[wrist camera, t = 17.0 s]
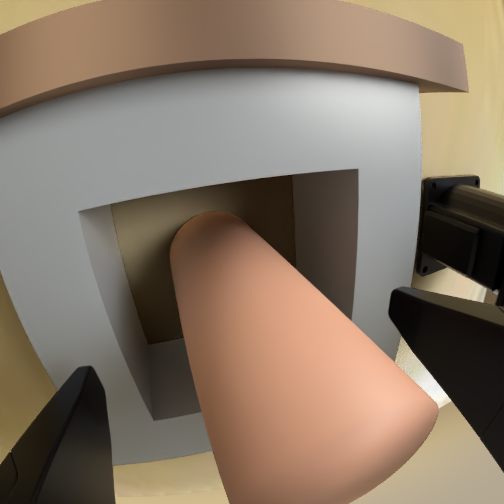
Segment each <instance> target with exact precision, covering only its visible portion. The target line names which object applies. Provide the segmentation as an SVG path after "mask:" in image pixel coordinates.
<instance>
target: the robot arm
mask: <svg viewBox="0 0 504 504" xmlns="http://www.w3.org/2000/svg"><path fill="white" fill-rule="evenodd" d="M431 185H432V186H431ZM447 267H448V268H450V269H452V270H454V271H456V272H457V273H459V274H461V275H463V276H465V277H467V278H469V279H471V280H473V281H475V282H476V283H478V284H480V285H482V286H483V287H485V288H487V289H488V290H490V291H492V292H494V293H495V294H497V298H496V301H495V304H494V305H491V304H486V303H481V302H477V301H472V300H467V299H462V298H457V297H453V296H448V295H443V294H438V293H434V292H429V291H424V290H419V289H414V288H410V287H405V286H401V287H398V288H396V289H393V290H392V292H391V295H390V302H389V308H388V315H389V318H390V320H391V321H392V322H393V324H394V325H395V327H396V328H397V330H398V331H399V333H400V334H401V336H402V337H403V338H404V340H405V341H406V343H407V344H408V346H409V347H410V349H411V350H412V352H413V353H414V354H415V355H416V357H417V358H418V359H419V360H420V362H421V363H422V364H423V365H424V366H425V368H426V369H427V370H428V371H429V373H430V374H431V375H432V376H433V378H434V379H435V380H436V381H437V383H438V384H439V385H440V386H441V388H442V389H443V390H444V391H445V393H446V394H447V395H448V397H449V398H450V399H451V400H452V402H453V403H454V404H455V406H456V407H457V408H458V409H459V411H460V412H461V413H462V415H463V416H464V417H465V419H466V420H467V421H468V423H469V424H470V425H471V427H472V428H473V430H474V431H475V432H476V434H477V435H478V436H479V437H480V440H481V441H482V442H483V444H484V445H485V446H486V448H487V449H488V451H489V452H490V454H491V455H492V456H493V458H494V459H495V461H496V462H497V464H498V465H499V467H500V468H501V470H502V471H503V472H504V196H503V195H500V194H497V193H494V192H490V191H487V190H484V189H480V179H479V177H478V176H476V175H459V176H441V177H429V178H427V179H426V181H425V183H424V198H423V213H422V225H421V235H420V244H419V252H418V260H417V267H416V272H417V274H419V275H421V276H426V275H429V274H431V273H434V272H436V271H439V270H442V269H444V268H447ZM11 452H12V453H11ZM11 452H9V453H8V455H7V456H6V458H5V459H4V460H3V462H2V463H1V464H0V504H116V503H115V492H114V480H113V465H112V445H111V435H110V428H109V420H108V411H107V402H106V393H105V389H104V387H103V385H102V383H101V381H100V379H99V377H98V375H97V373H96V371H95V369H94V368H93V367H92V366H91V365H87V366H80V367H78V368H77V369H76V370H75V371H74V372H73V373H72V374H71V376H70V377H69V378H68V379H67V380H66V381H65V383H64V384H63V385H62V386H61V387H60V389H59V390H58V391H57V392H56V394H55V395H54V396H53V397H52V398H51V400H50V401H49V402H48V403H47V405H46V406H45V407H44V408H43V410H42V411H41V412H40V413H39V415H38V416H37V417H36V418H35V420H34V421H33V422H32V423H31V425H30V426H29V427H28V429H27V430H26V431H25V432H24V434H23V435H22V436H21V438H20V439H19V440H18V442H17V443H16V444H15V446H14V447H13V448H12V450H11Z"/></svg>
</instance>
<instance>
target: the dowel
mask: <svg viewBox="0 0 504 504" xmlns="http://www.w3.org/2000/svg"><path fill="white" fill-rule="evenodd" d="M170 265H171V271H172V277H173V283H174V288H175V294H176V299H177V305H178V310H179V315H180V320H181V325H182V330H183V335H184V340H185V345H186V349H187V354H188V358H189V363H190V367H191V371H192V376H193V380H194V384H195V388H196V392H197V396H198V400H199V404H200V408H201V411H202V415H203V419H204V423H205V426H206V430H207V433H208V437H209V440H210V444H211V447H212V451H213V454H214V457H215V460H216V464H217V467H218V470H219V473H220V476H221V479H222V483H223V486H224V489H225V491H226V494H227V497H228V500H229V503H230V504H349V503H350V502H352V501H354V500H356V499H357V498H359V497H361V496H363V495H364V494H366V493H367V492H369V491H371V490H372V489H374V488H375V487H377V486H378V485H379V484H381V483H382V482H384V481H385V480H386V479H387V478H389V477H390V476H391V475H392V474H393V473H395V472H396V471H397V470H398V469H399V468H400V467H402V466H403V465H404V464H405V463H406V462H407V461H408V460H409V459H410V458H411V457H412V456H413V455H414V454H415V452H416V451H417V450H418V449H419V448H420V446H421V445H422V444H423V443H424V441H425V440H426V439H427V437H428V435H429V434H430V432H431V431H432V429H433V427H434V425H435V423H436V420H437V417H438V405H437V403H436V402H435V401H434V400H433V399H432V398H431V397H430V396H429V395H428V394H427V393H426V392H425V391H424V390H423V389H422V388H421V387H420V386H419V385H417V384H416V383H415V382H414V381H413V380H412V379H411V378H410V377H409V376H408V375H407V374H406V373H405V372H404V371H403V370H402V369H401V368H400V367H399V366H398V365H397V364H396V363H395V362H394V361H393V360H392V359H391V358H390V357H389V356H387V355H386V354H385V353H384V352H383V351H382V350H381V349H380V348H379V347H378V346H377V345H376V344H375V343H374V342H373V341H372V340H371V339H370V338H369V337H368V336H367V335H365V334H364V333H363V332H362V331H361V330H360V329H359V328H358V327H357V326H356V325H355V324H354V323H353V322H352V321H351V320H350V319H349V318H348V317H346V316H345V315H344V314H343V313H342V312H341V311H340V310H339V309H338V308H337V307H336V306H335V305H334V304H333V303H332V302H331V301H329V300H328V299H327V298H326V297H325V296H324V295H323V294H322V293H321V292H320V291H319V290H318V289H317V288H316V287H315V286H313V285H312V284H311V283H310V282H309V281H308V280H307V279H306V278H305V277H304V276H303V275H302V274H301V273H299V272H298V271H297V270H296V269H295V268H294V267H293V266H292V265H291V264H290V263H289V262H288V261H286V260H285V259H284V258H283V257H282V256H281V255H280V254H279V253H278V252H277V251H276V250H275V249H273V248H272V247H271V246H270V245H269V244H268V243H267V242H266V241H265V240H264V239H263V238H261V237H260V236H259V235H258V234H257V233H256V232H255V231H254V230H253V229H252V228H250V227H249V226H248V225H247V224H246V223H245V222H244V221H243V220H241V219H240V218H238V217H237V216H235V215H232V214H229V213H226V212H216V211H214V212H207V213H203V214H200V215H197V216H195V217H193V218H192V219H190V220H189V221H187V222H186V223H185V224H184V225H183V226H182V227H181V228H180V229H179V230H178V232H177V233H176V235H175V237H174V239H173V241H172V244H171V248H170Z"/></svg>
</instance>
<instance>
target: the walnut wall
mask: <svg viewBox="0 0 504 504" xmlns="http://www.w3.org/2000/svg"><path fill="white" fill-rule="evenodd" d="M261 67H266V68H302V69H318V70H330V71H340V72H349V73H357V74H364V75H371V76H377V77H384V78H389V79H395V80H400V81H405V82H410V83H414V84H418V85H419V93H429V92H469V88H468V79H467V70H466V63H465V56H464V49H463V44H461V43H459V42H457V41H455V40H453V39H451V38H448V37H446V36H444V35H442V34H440V33H437V32H435V31H433V30H430V29H428V28H425V27H423V26H420V25H418V24H415V23H413V22H410V21H407V20H404V19H402V18H399V17H396V16H393V15H390V14H387V13H383V12H380V11H377V10H374V9H370V8H367V7H363V6H359V5H355V4H351V3H347V2H343V1H338V0H101V1H97V2H93V3H89V4H85V5H81V6H78V7H74V8H71V9H67V10H64V11H61V12H58V13H54V14H51V15H49V16H46V17H43V18H40V19H37V20H35V21H32V22H29V23H27V24H24V25H22V26H20V27H17V28H15V29H13V30H10V31H8V32H6V33H4V34H1V35H0V118H2V117H4V116H6V115H9V114H11V113H14V112H17V111H19V110H22V109H25V108H27V107H30V106H33V105H36V104H39V103H42V102H45V101H48V100H51V99H54V98H57V97H61V96H64V95H67V94H71V93H74V92H78V91H82V90H86V89H90V88H94V87H98V86H102V85H107V84H111V83H116V82H121V81H126V80H131V79H137V78H142V77H149V76H155V75H162V74H169V73H178V72H187V71H197V70H209V69H225V68H261Z"/></svg>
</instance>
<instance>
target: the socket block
mask: <svg viewBox="0 0 504 504" xmlns="http://www.w3.org/2000/svg"><path fill="white" fill-rule="evenodd" d="M421 172H422V136H421V111H420V96H419V85H418V84H414V83H410V82H405V81H400V80H395V79H389V78H384V77H377V76H371V75H364V74H357V73H349V72H340V71H330V70H318V69H302V68H266V67H261V68H225V69H209V70H197V71H187V72H178V73H169V74H162V75H155V76H149V77H142V78H137V79H131V80H126V81H121V82H116V83H111V84H107V85H102V86H98V87H94V88H90V89H86V90H82V91H78V92H74V93H71V94H67V95H64V96H61V97H57V98H54V99H51V100H48V101H45V102H42V103H39V104H36V105H33V106H30V107H27V108H25V109H22V110H19V111H17V112H14V113H11V114H9V115H6V116H4V117H2V118H0V271H1V274H2V277H3V280H4V283H5V285H6V288H7V290H8V293H9V296H10V298H11V300H12V303H13V305H14V308H15V310H16V312H17V315H18V317H19V319H20V321H21V323H22V326H23V328H24V330H25V332H26V334H27V336H28V338H29V340H30V342H31V344H32V346H33V348H34V350H35V352H36V354H37V356H38V358H39V359H40V361H41V363H42V365H43V367H44V368H45V370H46V372H47V374H48V375H49V377H50V379H51V380H52V382H53V384H54V385H55V387H56V389H57V390H59V389H60V387H61V386H62V385H63V384H64V383H65V381H66V380H67V379H68V378H69V377H70V376H71V374H72V373H73V372H74V371H75V370H76V369H77V368H78V367H80V366H87V365H91V366H92V367H93V368H94V369H95V371H96V373H97V375H98V377H99V379H100V381H101V383H102V385H103V387H104V389H105V393H106V402H107V411H108V420H109V428H110V435H111V445H112V465H113V466H114V465H126V464H136V463H144V462H152V461H159V460H166V459H172V458H178V457H183V456H189V455H194V454H199V453H204V452H208V451H212V447H211V444H210V440H209V437H208V433H207V430H206V426H205V423H204V419H203V415H202V411H201V408H200V404H199V400H198V396H197V392H196V388H195V384H194V380H193V376H192V371H191V367H190V363H189V358H188V354H187V349H186V345H185V340H184V338H180V339H175V340H171V341H166V342H161V343H156V344H150V345H148V344H147V341H146V338H145V335H144V332H143V329H142V326H141V323H140V319H139V316H138V313H137V310H136V307H135V303H134V300H133V296H132V293H131V289H130V286H129V282H128V279H127V275H126V271H125V267H124V264H123V260H122V256H121V252H120V247H119V243H118V239H117V235H116V230H115V225H114V221H113V216H112V211H111V206H110V204H112V203H117V202H122V201H126V200H131V199H136V198H141V197H146V196H151V195H157V194H162V193H167V192H173V191H179V190H184V189H190V188H196V187H203V186H209V185H215V184H222V183H229V182H236V181H243V180H250V179H258V178H266V177H274V176H282V175H291V174H292V180H293V199H294V220H295V246H296V270H297V271H298V272H299V273H301V274H302V275H303V276H304V277H305V278H306V279H307V280H308V281H309V282H310V283H311V284H312V285H313V286H315V287H316V288H317V289H318V290H319V291H320V292H321V293H322V294H323V295H324V296H325V297H326V298H327V299H328V300H329V301H331V302H332V303H333V304H334V305H335V306H336V307H337V308H338V309H339V310H340V311H341V312H342V313H343V314H344V315H345V316H346V317H348V318H349V319H350V320H351V321H352V322H353V323H354V324H355V325H356V326H357V327H358V328H359V329H360V330H361V331H362V332H363V333H364V334H365V335H367V336H368V337H369V338H370V339H371V340H372V341H373V342H374V343H375V344H376V345H377V346H378V347H379V348H380V349H381V350H382V351H383V352H384V353H385V354H386V355H387V356H389V357H390V358H391V359H392V360H393V361H394V362H395V358H396V354H397V350H398V346H399V342H400V338H401V334H400V333H399V331H398V330H397V328H396V327H395V325H394V324H393V322H392V321H391V320H390V318H389V315H388V308H389V302H390V295H391V292H392V290H393V289H396V288H398V287H401V286H405V287H410V288H411V281H412V275H413V268H414V261H415V253H416V245H417V236H418V225H419V213H420V198H421Z"/></svg>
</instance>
